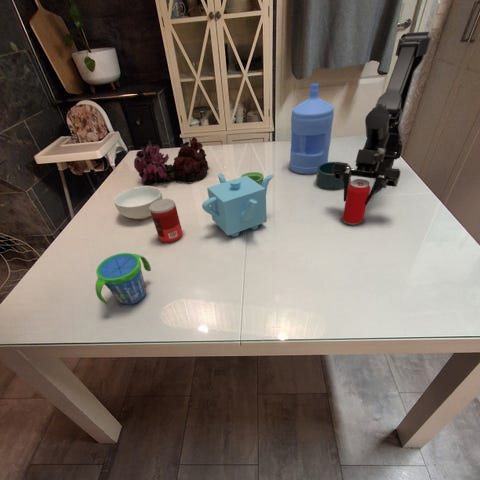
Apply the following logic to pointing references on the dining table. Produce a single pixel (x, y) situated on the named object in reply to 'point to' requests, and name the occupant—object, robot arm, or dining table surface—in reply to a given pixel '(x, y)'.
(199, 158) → the flower arrangement
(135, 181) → the dining table surface
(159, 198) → the cereal bowl
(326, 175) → the pot
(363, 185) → the beverage can
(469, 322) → the dining table surface
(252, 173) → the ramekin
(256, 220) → the teakettle
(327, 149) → the water jug
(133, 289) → the snack cup
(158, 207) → the canned food
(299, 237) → the dining table surface
